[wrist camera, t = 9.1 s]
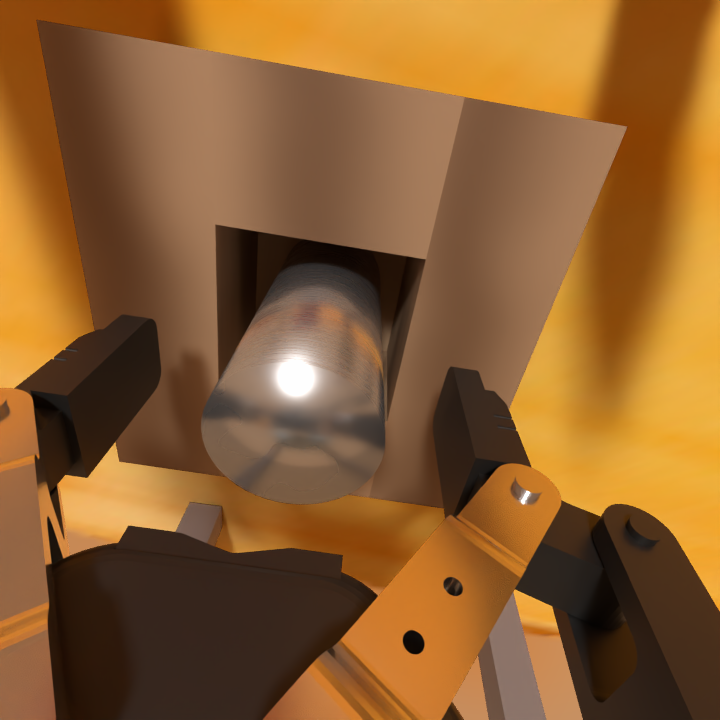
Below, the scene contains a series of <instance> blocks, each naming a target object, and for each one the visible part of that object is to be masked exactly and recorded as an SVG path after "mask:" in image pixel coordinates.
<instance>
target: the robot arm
mask: <svg viewBox="0 0 720 720" xmlns="http://www.w3.org/2000/svg"><path fill="white" fill-rule="evenodd" d="M160 377H161V361H160V351H159V341H158V332H157V325H156V322H155V321H154V320H153V319H151V318H144V317H138V316H132V315H125V314H123V315H120V316H119V317H118V318H116V319H115V320H114V321H113V322H112V323H110V324H109V325H108V326H107V327H106V328H104V329H103V330H102V329H98V330H96V331H93V332H91V333H88V334H86V335H83V336H81V337H79V338H78V339H76V340H75V341H74V342H73V343H71V344H70V345H69V346H67V347H66V350H62V351H61V352H60V353H59V354H57V355H56V356H55V357H54V360H53V359H51V360H50V361H48V362H47V363H46V364H45V365H43V366H42V367H41V368H40V369H38V370H37V371H36V372H35V373H33V374H32V375H31V376H29V377H28V378H27V379H26V380H24V381H23V382H22V383H21V384H19V385H18V386H17V387H16V388H14V389H13V388H0V720H464V719H463V717H462V716H461V715H460V713H459V711H458V710H457V709H456V707H455V705H454V704H453V703H452V700H453V698H454V697H455V695H456V693H457V691H458V689H459V688H460V686H461V684H462V682H463V681H464V679H465V677H466V675H467V674H468V672H469V670H470V668H471V666H472V664H473V663H474V661H475V659H476V657H477V656H478V654H479V652H480V650H481V649H482V647H483V645H484V643H485V641H486V640H487V638H488V636H489V634H490V632H491V631H492V629H493V627H494V625H495V624H496V622H497V620H498V618H499V616H500V615H501V613H502V611H503V609H504V607H505V606H506V604H507V602H508V600H509V599H510V597H511V595H512V593H513V591H514V590H515V589H516V590H518V591H520V592H522V593H524V594H527V595H529V596H531V597H533V598H535V599H538V600H540V601H542V602H544V603H546V604H549V605H551V606H552V607H553V611H554V614H555V618H556V622H557V625H558V629H559V633H560V637H561V640H562V644H563V648H564V651H565V655H566V658H567V662H568V666H569V670H570V673H571V677H572V680H573V684H574V688H575V691H576V695H577V699H578V702H579V706H580V710H581V713H582V717H583V720H720V612H719V610H718V608H717V607H716V605H715V603H714V602H713V600H712V598H711V596H710V595H709V593H708V591H707V590H706V588H705V586H704V585H703V583H702V581H701V580H700V578H699V576H698V575H697V573H696V571H695V570H694V568H693V566H692V565H691V563H690V561H689V560H688V558H687V556H686V555H685V553H684V551H683V550H682V548H681V546H680V545H679V543H678V541H677V540H676V538H675V537H674V535H673V534H672V533H671V532H670V530H669V529H668V528H667V527H666V526H665V525H664V524H663V523H661V522H660V521H659V520H658V519H656V518H655V517H653V516H652V515H650V514H648V513H647V512H645V511H643V510H641V509H639V508H636V507H633V506H629V505H625V504H614V505H611V506H609V507H608V508H607V509H606V510H605V511H604V513H603V514H602V516H601V517H600V516H598V515H595V514H593V513H590V512H588V511H585V510H583V509H580V508H578V507H575V506H572V505H570V504H568V503H566V502H564V501H562V500H561V496H560V493H559V491H558V489H557V488H556V486H555V485H554V484H553V482H551V481H550V480H549V479H548V478H547V477H546V476H545V475H543V474H542V473H540V472H539V471H537V470H535V469H533V468H532V467H531V465H530V462H529V460H528V457H527V455H526V452H525V450H524V447H523V444H522V442H521V439H520V437H519V434H518V432H517V431H516V427H515V424H514V422H513V420H511V418H512V417H511V414H510V412H509V409H508V407H507V404H506V403H505V402H504V401H503V400H502V399H501V398H500V397H499V396H498V395H497V393H496V392H495V391H490V390H485V388H484V385H483V383H482V380H481V377H480V374H479V372H478V371H477V370H471V369H465V368H458V367H452V366H451V367H450V368H449V369H448V371H447V374H446V377H445V380H444V384H443V387H442V390H441V393H440V397H439V400H438V403H437V406H436V410H435V414H434V419H433V437H434V444H435V451H436V458H437V465H438V472H439V479H440V486H441V493H442V500H443V507H444V514H445V520H444V521H443V522H442V523H441V524H440V525H439V527H438V528H437V529H436V530H435V531H434V532H433V534H432V535H431V536H430V537H429V538H428V539H427V540H426V542H425V543H424V544H423V545H422V546H421V547H420V549H419V550H418V551H417V552H416V553H415V554H414V555H413V557H412V558H411V559H410V560H409V561H408V562H407V564H406V565H405V566H404V567H403V568H402V569H401V570H400V572H399V573H398V574H397V575H396V576H395V577H394V579H393V580H392V581H391V582H390V583H389V584H388V586H387V587H386V588H385V589H384V590H383V591H382V592H381V594H380V595H379V596H378V595H377V594H376V593H374V592H373V591H372V590H371V589H370V588H368V587H367V586H366V585H364V584H363V583H361V582H360V581H358V580H356V579H354V578H353V577H351V576H349V575H346V574H344V573H342V572H341V568H342V557H343V555H337V554H330V553H322V552H315V551H308V550H301V549H294V548H287V549H276V550H266V551H255V552H245V553H230V552H227V551H225V550H222V549H220V548H217V547H215V546H212V545H210V544H208V543H205V542H203V541H200V540H198V539H195V538H193V537H191V536H188V535H186V534H183V533H179V532H171V531H164V530H157V529H150V528H143V527H135V526H128V528H127V529H126V531H125V533H124V534H123V536H122V538H121V539H120V541H119V543H113V544H107V545H102V546H97V547H94V548H90V549H87V550H84V551H81V552H78V553H76V554H73V555H70V552H69V546H68V540H67V532H66V526H65V519H64V512H63V506H62V499H61V493H60V489H59V486H58V483H59V482H60V481H61V479H62V478H63V477H64V476H65V475H71V476H78V477H85V478H87V477H88V476H89V475H90V474H91V472H92V471H93V470H94V468H95V467H96V466H97V465H98V463H99V462H100V461H101V459H102V458H103V457H104V456H105V454H106V453H107V452H108V450H109V449H110V448H111V447H112V445H113V444H114V443H115V441H116V440H117V439H118V438H119V436H120V435H121V434H122V433H123V431H124V430H125V429H126V427H127V426H128V425H129V424H130V422H131V421H132V420H133V418H134V417H135V416H136V415H137V413H138V412H139V411H140V409H141V408H142V407H143V406H144V404H145V403H146V402H147V400H148V399H149V398H150V397H151V395H152V394H153V393H154V391H155V390H156V388H157V386H158V384H159V381H160Z"/></svg>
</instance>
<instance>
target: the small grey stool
mask: <svg viewBox="0 0 720 720" xmlns="http://www.w3.org/2000/svg"><path fill="white" fill-rule="evenodd" d="M221 529H222V507H220V506H213V505H206V504H199V503H192V502H190V503H189V505H188V507H187V509H186V511H185V513H184V515H183V517H182V519H181V521H180V524H179V526H178V528H177V530H176V532H179V533H183V534H186V535H188V536H191V537H193V538H195V539H198V540H200V541H203V542H205V543H208V544H210V545H212V546H215V545H216V542H217V539H218V537H219V534H220V531H221ZM478 657H479V663H480V668H481V675H482V681H483V687H484V692H485V699H486V705H487V711H488V717H489V720H546V717H545V713H544V709H543V706H542V702H541V698H540V694H539V690H538V686H537V682H536V678H535V675H534V671H533V667H532V663H531V659H530V655H529V651H528V648H527V644H526V640H525V636H524V632H523V628H522V624H521V621H520V617H519V613H518V609H517V605H516V601H515V597H514V594H513V593H512V595H511V597H510V599H509V600H508V602H507V604H506V606H505V607H504V609H503V611H502V613H501V615H500V616H499V618H498V620H497V622H496V624H495V625H494V627H493V629H492V631H491V632H490V634H489V636H488V638H487V640H486V641H485V643H484V645H483V647H482V649H481V650H480V652H479V654H478Z"/></svg>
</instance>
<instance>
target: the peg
mask: <svg viewBox="0 0 720 720" xmlns="http://www.w3.org/2000/svg"><path fill="white" fill-rule="evenodd" d="M201 432H202V438H203V442H204V446H205V448H206V450H207V452H208V455H209V456H210V458H211V459H212V461H213V463H214V464H215V465H216V466H217V467H218V469H219V470H220V471H221V472H222V473H223V474H224V475H225V476H226V477H227V478H228V479H230V480H231V481H232V482H234V483H235V484H236V485H238V486H240V487H241V488H243V489H245V490H246V491H249V492H251V493H253V494H255V495H257V496H260V497H263V498H265V499H269V500H273V501H277V502H282V503H289V504H316V503H323V502H328V501H332V500H335V499H338V498H341V497H343V496H346V495H348V494H350V493H352V492H353V491H355V490H357V489H358V488H360V487H361V486H362V485H364V484H365V483H366V482H367V481H368V480H369V479H370V478H371V477H372V476H373V474H374V473H375V472H376V470H377V469H378V467H379V465H380V463H381V461H382V458H383V455H384V450H385V411H384V382H383V352H382V323H381V293H380V273H379V268H378V264H377V262H376V259H375V257H374V256H373V254H372V252H371V251H370V250H366V249H360V248H354V247H348V246H342V245H336V244H330V243H324V242H318V241H312V240H306V239H302V240H301V241H300V242H298V243H297V244H296V245H295V246H294V248H293V249H292V250H291V252H290V253H289V255H288V257H287V259H286V260H285V262H284V264H283V266H282V268H281V269H280V271H279V273H278V275H277V277H276V278H275V280H274V282H273V284H272V286H271V287H270V289H269V291H268V293H267V295H266V296H265V298H264V300H263V302H262V303H261V305H260V307H259V309H258V311H257V312H256V314H255V316H254V318H253V320H252V321H251V323H250V325H249V327H248V329H247V330H246V332H245V334H244V336H243V338H242V339H241V341H240V343H239V345H238V347H237V348H236V350H235V352H234V354H233V356H232V357H231V359H230V361H229V363H228V365H227V366H226V368H225V370H224V372H223V374H222V375H221V377H220V379H219V381H218V383H217V384H216V386H215V388H214V390H213V392H212V393H211V395H210V397H209V399H208V401H207V403H206V405H205V407H204V410H203V414H202V419H201Z"/></svg>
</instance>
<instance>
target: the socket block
mask: <svg viewBox="0 0 720 720" xmlns="http://www.w3.org/2000/svg"><path fill="white" fill-rule="evenodd" d="M37 25H38V31H39V36H40V41H41V47H42V52H43V57H44V63H45V68H46V73H47V79H48V84H49V89H50V95H51V100H52V105H53V111H54V116H55V121H56V127H57V132H58V137H59V143H60V148H61V153H62V159H63V164H64V169H65V175H66V180H67V185H68V191H69V196H70V201H71V207H72V212H73V217H74V223H75V228H76V233H77V239H78V244H79V249H80V255H81V260H82V265H83V270H84V276H85V281H86V286H87V292H88V297H89V302H90V308H91V313H92V318H93V324H94V329H95V331H96V330H98V329H102V330H103V329H104V328H106V327H107V326H108V325H109V324H110V323H112V322H113V321H114V320H115V319H116V318H118V317H119V316H120V315H123V314H125V315H132V316H138V317H144V318H151V319H153V320H154V321H155V322H156V325H157V332H158V341H159V351H160V361H161V377H160V381H159V384H158V386H157V388H156V390H155V391H154V393H153V394H152V395H151V397H150V398H149V399H148V400H147V402H146V403H145V404H144V406H143V407H142V408H141V409H140V411H139V412H138V413H137V415H136V416H135V417H134V418H133V420H132V421H131V422H130V424H129V425H128V426H127V427H126V429H125V430H124V431H123V433H122V434H121V435H120V436H119V438H118V439H117V440H116V446H117V452H118V457H119V462H126V463H133V464H140V465H147V466H154V467H161V468H168V469H175V470H182V471H189V472H196V473H203V474H209V475H216V476H223V477H226V476H225V475H224V474H223V473H222V472H221V471H220V470H219V469H218V467H217V466H216V465H215V464H214V463H213V461H212V459H211V458H210V456H209V455H208V452H207V450H206V448H205V446H204V442H203V438H202V432H201V419H202V414H203V410H204V407H205V405H206V403H207V401H208V399H209V397H210V395H211V393H212V392H213V390H214V388H215V386H216V384H217V383H218V381H219V379H220V377H221V375H222V374H223V372H224V370H225V368H226V366H227V365H228V363H229V361H230V359H231V357H232V356H233V354H234V352H235V350H236V348H237V347H238V345H239V343H240V341H241V339H242V338H243V336H244V334H245V332H246V330H247V329H248V327H249V325H250V323H251V321H252V320H253V318H254V316H255V314H256V312H257V311H258V309H259V307H260V305H261V303H262V302H263V300H264V298H265V296H266V295H267V293H268V291H269V289H270V287H271V286H272V284H273V282H274V280H275V278H276V277H277V275H278V273H279V271H280V269H281V268H282V266H283V264H284V262H285V260H286V259H287V257H288V255H289V253H290V252H291V250H292V249H293V248H294V246H295V245H296V244H297V243H298V242H300V241H301V240H302V239H306V240H312V241H318V242H324V243H330V244H336V245H342V246H348V247H354V248H360V249H366V250H370V251H371V252H372V254H373V256H374V257H375V259H376V262H377V264H378V268H379V273H380V293H381V323H382V352H383V382H384V411H385V450H384V455H383V458H382V461H381V463H380V465H379V467H378V469H377V470H376V472H375V473H374V474H373V476H372V477H371V478H370V479H369V480H368V481H367V482H366V483H365V484H364V485H362V486H361V487H360V488H358V489H357V490H355V491H353V492H352V493H350V494H348V495H355V496H362V497H369V498H376V499H383V500H389V501H396V502H403V503H410V504H417V505H424V506H431V507H438V508H444V507H443V500H442V493H441V486H440V479H439V472H438V465H437V458H436V451H435V444H434V437H433V419H434V414H435V410H436V406H437V403H438V400H439V397H440V393H441V390H442V387H443V384H444V380H445V377H446V374H447V371H448V369H449V368H450V367H451V366H452V367H458V368H465V369H471V370H477V371H478V372H479V374H480V377H481V380H482V383H483V385H484V388H485V390H490V391H495V392H496V393H497V395H498V396H499V397H500V398H501V399H502V400H503V401H504V402H505V403H506V404H507V407H508V409H509V408H510V405H511V403H512V401H513V398H514V396H515V393H516V391H517V389H518V386H519V384H520V382H521V379H522V377H523V374H524V372H525V370H526V367H527V365H528V362H529V360H530V358H531V355H532V353H533V351H534V348H535V346H536V343H537V341H538V339H539V336H540V334H541V332H542V329H543V327H544V324H545V322H546V320H547V317H548V315H549V312H550V310H551V308H552V305H553V303H554V301H555V298H556V296H557V293H558V291H559V289H560V286H561V284H562V281H563V279H564V277H565V274H566V272H567V270H568V267H569V265H570V262H571V260H572V258H573V255H574V253H575V251H576V248H577V246H578V243H579V241H580V239H581V236H582V234H583V231H584V229H585V227H586V224H587V222H588V220H589V217H590V215H591V212H592V210H593V208H594V205H595V203H596V201H597V198H598V196H599V193H600V191H601V189H602V186H603V184H604V181H605V179H606V177H607V174H608V172H609V170H610V167H611V165H612V162H613V160H614V158H615V155H616V153H617V150H618V148H619V146H620V143H621V141H622V139H623V136H624V134H625V131H626V129H627V127H626V126H621V125H615V124H610V123H604V122H599V121H593V120H588V119H582V118H577V117H571V116H566V115H560V114H555V113H549V112H544V111H538V110H533V109H527V108H522V107H516V106H511V105H505V104H500V103H494V102H488V101H483V100H477V99H472V98H466V97H461V96H455V95H450V94H444V93H439V92H433V91H428V90H422V89H417V88H411V87H406V86H400V85H395V84H389V83H384V82H378V81H373V80H367V79H361V78H356V77H350V76H345V75H339V74H334V73H328V72H323V71H317V70H312V69H306V68H301V67H295V66H290V65H284V64H279V63H273V62H268V61H262V60H257V59H251V58H246V57H240V56H235V55H229V54H223V53H218V52H212V51H207V50H201V49H196V48H190V47H185V46H179V45H174V44H168V43H163V42H157V41H152V40H146V39H141V38H135V37H130V36H124V35H119V34H113V33H108V32H102V31H96V30H91V29H85V28H80V27H74V26H69V25H63V24H58V23H52V22H47V21H41V20H37Z"/></svg>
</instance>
